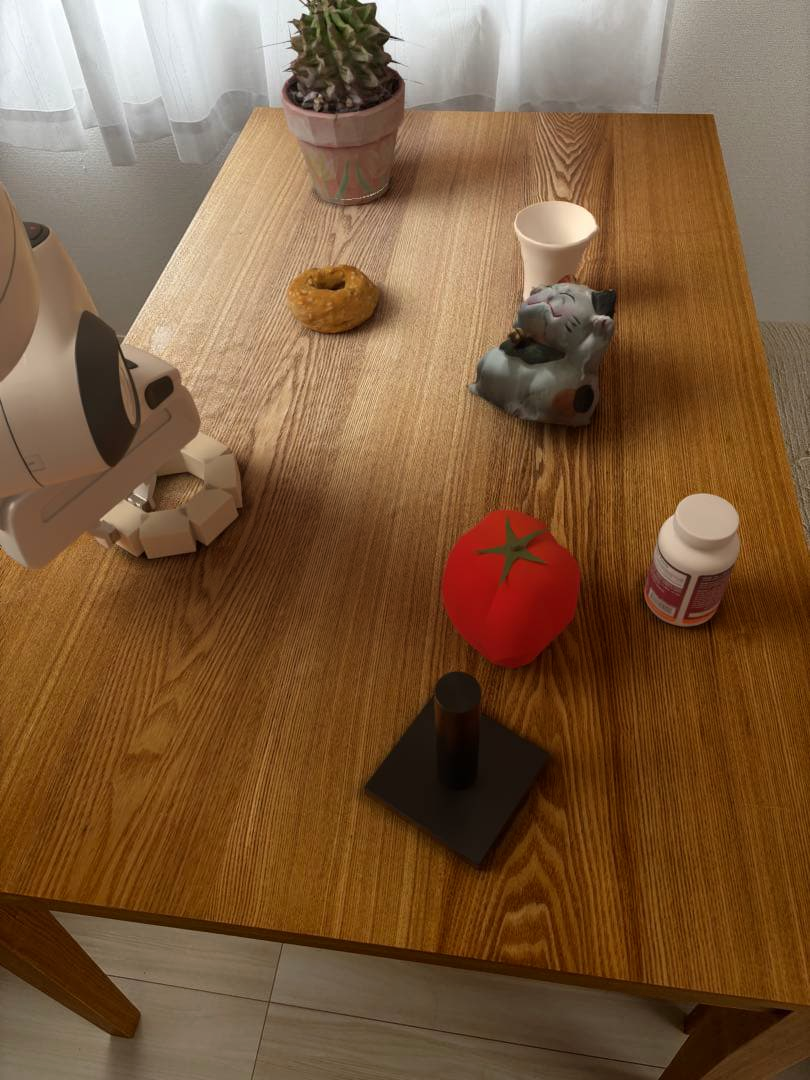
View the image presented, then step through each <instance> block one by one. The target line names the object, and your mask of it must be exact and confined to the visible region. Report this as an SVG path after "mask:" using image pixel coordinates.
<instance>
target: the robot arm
mask: <svg viewBox="0 0 810 1080" xmlns="http://www.w3.org/2000/svg"><path fill="white" fill-rule="evenodd" d="M201 425H202V420H201V416H200V414H199V409H198V407H197V404H196V402H195V400H194V398H193V396H192V394H191V392H190V390H189V389H188V388H187V387H186V386H185V385H183V384H182V375H181V372H180V370H179V369H178V368H177V367H176V366H174V365H173V364H172V363H170V362H168V361H166V360H165V359H162V358H161V357H159V356H157V355H155V354H153V353H151V352H149V351H148V350H147V351H146V350H144V349H142V348H139V347H136V346H134V345H131V344H128V343H122V344H120V342H119V339H118V336H117V333H116V331H115V330H114V329H113V328H112V327H111V326H110V325H109V324H108V323H107V322H106V321H104V320H103V319H102V318H100V316H99V313H98V310H97V308H96V306H95V303H94V301H93V299H92V297H91V295H90V292H89V290H88V288H87V286H86V284H85V282H84V280H83V277H82V275H81V274H80V271H79V270H78V268H77V267H76V265H75V262H74V261H73V260H72V258H71V256H70V254H69V252H68V251H67V249H66V247H65V246H64V244H63V243H62V241H61V239H60V237H59V236H58V235H57V234H56V233H55V231H54V230H53V229H52V228H51V227H49V226H48V225H45V224H43V223H38V222H34V221H24V220H22V218H21V215H20V213H19V211H18V209H17V207H16V204H15V203H14V201H13V199H12V197H11V195H10V194H9V191H8V190H7V188H6V186H5V185H4V183H3V182H2V181H1V179H0V547H1V548H2V550H3V552H4V553H5V554H6V555H7V556H8V557H10V559H12V560H14V561H15V562H16V563H17V564H19V565H21V566H22V567H24V568H26V569H28V570H42V569H44V568H45V567H47V566H48V565H49V564H51V562H53V560H55V559H56V558H57V557H59V555H60V554H62V553H63V552H64V551H66V550H67V549H68V548H69V547H70V546H71V545H72V544H73V543H74V542H76V541H77V540H78V539H79V538H81V536H83V535H84V534H88V535H89V536H92V537H94V539H95V540H96V541H97V543H98V544H99V545H101V546H103V547H104V548H105V549H107V550H110V549H111V548H113V546H114V545H115V544H116V542H117V541H118V540H120V539H121V537H120V535H118V533H119V532H118V530H117V528H116V527H114V526H113V525H109V524H108V522H106V521H104V520H102V521H101V522H100V519H101V518H102V517H103V516H105V515H106V514H107V513H108V512H109V511H110V510H112V509H113V508H114V507H115V506H116V505H117V504H119V503H120V502H121V501H122V500H123V499H124V498H126V497H127V496H128V495H129V494H130V493H131V492H133V494H132V495H131V496H130V497H129V498H127V499H128V501H129V503H131V504H133V505H134V506H136V507H138V508H139V509H141V510H143V511H144V512H146V513H151V512H153V511H154V510H155V509H156V508H157V505H156V503H155V500H154V498H153V496H154V494H155V493H154V492H155V488H156V484H157V478H158V476H156V474H155V472H156V471H157V470H158V469H159V468H160V467H162V466H163V465H164V464H165V463H166V462H167V461H169V460H170V459H171V458H172V457H173V456H174V455H176V454H177V453H178V452H179V451H180V450H181V449H183V448H184V447H185V446H186V445H187V444H188V443H190V442H191V441H192V440H193V439H194V438H195V437H196V436H197V435H198V432H199V431H200V428H201Z"/></svg>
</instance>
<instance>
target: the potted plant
mask: <svg viewBox="0 0 810 1080" xmlns="http://www.w3.org/2000/svg"><path fill="white" fill-rule="evenodd" d="M298 1H299V2H300V3H301V4H302V5H303V6H302V7H301V9H302V8H304V7H306V8H307V9H308V11H309V13H308V14H306V13H303V12H302V13H301V15H300V18H299V19H296V18H293V19H292V20H289V21H287V24H288V25H287V26H290V25H289V24H292V25H293V26H294V27H295V29H297V31H295V32H294V33H293V35H295V36H292V34H291V30H290V28H288V31H289V38H290V39H289V40H286V41H283V42H278V43H272V44H267V45H264V46H261V47H259V49H260V48H266V47H269V46H273V45H274V46H275V45H279V44H285V43H289V42H290V44H291V45H290V46H289V47H287V48H285V50H290V49H292V50H293V51H294V52H296V53H297V54H296V53H295V55H297V56H296V58H295V59H294V60H291V62H289V63H288V65H289V67H287V68H286V69H285V70H282V73H285V72H287V73H292V75H291V76H290V77H289V78H287V79H286V80H285V82H284V84H283V85H282V87H281V91H280V100H281V104H282V109H283V112H284V117H285V121H286V125H287V128H288V130H289V131H290V133H291V134H292V135H293V136H294V137H295V138H296V140H297V144H298V146H299V148H300V151H301V154H302V156H303V159H304V161H305V164H306V167H307V169H308V172H309V174H310V177H311V180H312V182H313V185H314V188H315V190H316V193H317V195H318V196H319V198H321V199H322V200H323V201H326V202H327V203H328V204H331V205H332V204H333V205H338V206H343V207H344V206H345V207H346V206H357V205H365V204H368V203H370V202H373V201H375V200H378V199H380V198H381V197H382V196H383V195H384V194H385V193H386V192H387V191H388V187H389V182H390V177H391V172H392V166H393V161H394V154H395V150H396V145H397V144H396V143H397V139H398V133H399V127H400V126H401V124H402V123H403V121H404V119H405V105H406V100H405V99H406V98H405V97H406V82H405V80H406V81H408V79H407V78H406V79H405V78H403V77H402V76H401V75H400V73H399V72H398V71H397V70H396V69H394V68H392V67H390V66H388V65H389V64H390V63H393V64H396V65H397V64H398V65H402V66H405V67H407V68H408V65H405V64H403V63H401V62H399V61H396V60H394V59H393V58H392V55H391V54H390V53H389V52H386V51H385V48H384V46H385V45H386V44H387V42H389V40H390V41H393V40H394V41H396V42H400V41H401V42H406V43H407V42H408V43H410V44H411V43H412V42H409V41H407V40H404V39H403V38H399V37H397V36H394V35H391V32H390V31H389V30H387V28H385V27H384V26H383V25H381V24H380V23H379V21H378V20H377V18H376V16H377V10H378V7H377V3H376V2H374V1H373V2H365V3H364V2H363V3H362V2H361V1H359V0H306V3H305V2H304V1H303V0H298ZM297 34H298V35H297ZM412 44H413V45H416V46H418V47H421V48H423V46H422V45H417V44H415V43H412ZM425 48H426V47H425ZM256 49H258V47H256V48H255V50H256ZM426 49H427V48H426ZM295 55H294V56H295ZM286 66H287V64H286V65H284V66H282V68H283V67H286ZM409 81H410V82H414V83H417V84H420V85H425V83H422V82H421V83H420V82H418V81H415V80H414V81H413V80H410V79H409ZM388 181H389V182H388ZM387 183H388V184H387ZM386 184H387V185H386ZM385 185H386V186H385ZM384 186H385V187H384ZM383 187H384V188H383ZM382 188H383V190H381V189H382ZM379 190H381V191H379ZM377 191H379V192H378V193H376V194H374V195H372V196H369V197H365V198H361V199H352V198H360V197H363V196H367V195H370V194H373V193H375V192H377ZM335 198H337V199H335ZM341 199H352V200H341Z"/></svg>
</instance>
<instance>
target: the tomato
mask: <svg viewBox="0 0 810 1080" xmlns="http://www.w3.org/2000/svg"><path fill="white" fill-rule="evenodd" d="M550 528H551V526H549V527H548V526H547V524H546V523H545V522H543V521H542V520H541V519H539V518H536V517H534V516H532V515H529V514H526V513H524V512H521V511H519V510H516V509H513V508H511V509H497V510H492V511H491V512H489V513H488V514H486V515H485V516H484V517H482V519H481V520H480V521H478V522H477V523H476V525H474V526H473V527H472V528H471V529H470V530H468V531H467V532H465V533H463V534H462V535H460V537H459V538H458V540H457V541H456V542H455V544H454V545H453V547H452V548H451V550H450V552H449V553H448V555H447V560H446V564H445V567H444V571H443V575H442V579H441V585H440V586H441V595H442V596H441V597H442V603H443V606H444V608H445V609H444V610H445V611H446V613H447V615H448V617H449V619H450V622H451V624H452V625H453V627H454V628H455V630H456V631H457V633H458V634H459V635H460V636H461V637H462V638H463V639H464V640H465V642H467V644H468V645H469V646H471V647H472V648H473V649H474V650H475V651H476V652H478V653H479V654H480V655H481V656H482V657H484V658H485V659H486V660H487V661H489V662H490V663H491V664H492V665H496V666H500V667H503V668H507V669H511V670H513V669H515V668H519V667H522V666H526V665H530V664H531V663H532V662H533V661H534V660H535V659H536V658H537V657H538V656H539V655H540V654H541V653H542V652H543V651H544V650H545V649H546V648H547V647H548V646H549V645H550V644H551V643H552V642H553V641H554V640H555V639H556V638H557V637H558V636H559V635H560V634H562V633H563V632H564V630H566V628H567V627H568V625H569V624H570V623H571V622H572V620H573V619H574V618H575V614H576V610H577V609H576V608H577V603H578V599H579V593H580V587H581V579H582V578H581V577H582V574H581V571H580V566H579V563H578V561H577V560H576V558H575V557H574V555H573V554H572V553H571V551H570V550H569V548H566V547H565V546H563V545H561V544H560V543H559V542H558V541H557V539H556V538H555V536H554V535H553V533H552V532H551V530H550Z"/></svg>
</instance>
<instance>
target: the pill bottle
mask: <svg viewBox="0 0 810 1080" xmlns="http://www.w3.org/2000/svg"><path fill="white" fill-rule="evenodd" d="M739 527H740V517H739V514H738V511H737V510H736V508H735V506H734V505H732V504H731V502H730V501H728V500H726V499H724V498H723V497H721V496H718V495H715V494H711V493H694V494H690V495H688V496H686V497H684V498H683V499H682V500H681V501H680V502H679V503H678V505H677V506H676V509H675V512H674V514H672V515H670V516H669V517H668V518H667V519H666V520H665V521H664V522H663V524H662V526H661V527H660V530H659V533H658V536H657V540H656V545H655V548H654V551H653V554H652V558H651V562H650V566H649V569H648V574H647V576H646V580H645V584H644V590H643V592H644V599H645V602H646V604H647V606H648V608H649V610H650V611H651V612H652V613H653V614H654V615H655V616H656V617H657V618H659V619H660V620H661V621H663V622H665V623H668V624H669V625H673V626H676V627H677V626H678V627H694V626H699V625H701V624H704V623H706V622H708V621H709V620H710V619H711V618H713V616H714V615H715V614H716V612H717V610H718V608H719V606H720V603H721V600H722V599H723V595H724V593H725V590H726V588H727V585H728V582H729V580H730V578H731V575H732V573H733V570H734V567H735V565H736V562H737V561H738V558H739V554H740V550H741V540H740V537H739V534H738V532H737V531H738V529H739Z"/></svg>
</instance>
